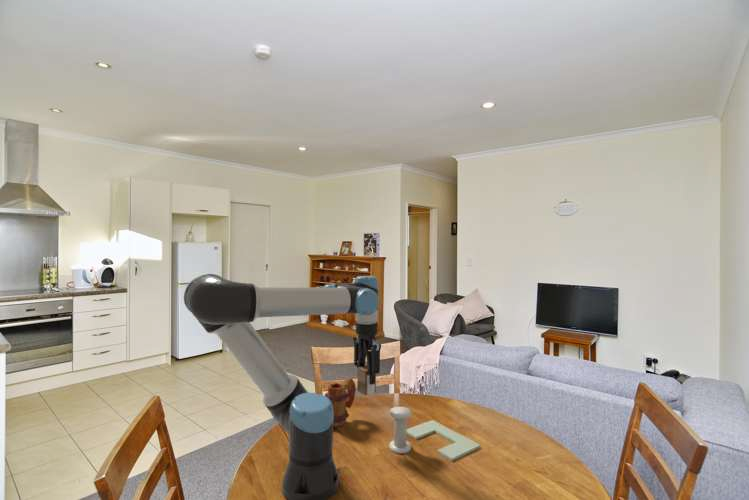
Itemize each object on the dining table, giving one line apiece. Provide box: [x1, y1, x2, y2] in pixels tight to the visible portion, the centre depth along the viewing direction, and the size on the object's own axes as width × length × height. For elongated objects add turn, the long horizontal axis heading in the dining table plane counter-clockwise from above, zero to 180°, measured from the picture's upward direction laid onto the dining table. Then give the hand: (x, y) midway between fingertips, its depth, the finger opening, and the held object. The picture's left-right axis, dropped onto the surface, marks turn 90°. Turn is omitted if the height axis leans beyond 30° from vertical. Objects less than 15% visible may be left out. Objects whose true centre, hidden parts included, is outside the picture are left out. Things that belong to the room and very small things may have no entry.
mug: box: [324, 377, 357, 427], centre depth 141 cm, size 15×8×15 cm, turn 143°
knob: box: [388, 406, 413, 455], centre depth 123 cm, size 7×7×12 cm
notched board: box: [407, 419, 481, 462], centre depth 129 cm, size 14×22×1 cm, turn 37°
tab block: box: [356, 364, 377, 396], centre depth 127 cm, size 4×4×8 cm
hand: (366, 390), depth 127 cm, fingers closed on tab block, 4 cm apart
